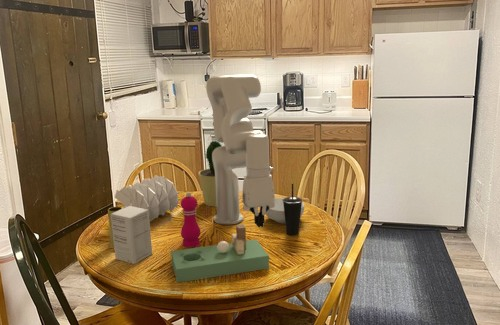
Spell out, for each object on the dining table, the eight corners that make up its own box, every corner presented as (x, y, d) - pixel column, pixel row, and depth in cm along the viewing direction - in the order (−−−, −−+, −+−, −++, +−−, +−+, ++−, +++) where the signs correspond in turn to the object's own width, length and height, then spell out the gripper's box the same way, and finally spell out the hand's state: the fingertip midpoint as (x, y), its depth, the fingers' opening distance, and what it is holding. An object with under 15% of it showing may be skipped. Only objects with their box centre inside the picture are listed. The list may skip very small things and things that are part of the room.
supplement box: (133, 248, 171) (130, 205, 167) (153, 253, 166) (149, 208, 162) (114, 259, 163) (109, 213, 159) (133, 264, 158) (129, 217, 154)
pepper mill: (204, 241, 176) (201, 190, 171) (196, 249, 169) (193, 196, 165) (187, 239, 178) (184, 188, 174) (178, 246, 172) (174, 194, 167)
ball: (216, 251, 156) (215, 239, 155) (227, 249, 157) (227, 238, 157) (218, 256, 153) (218, 244, 152) (230, 254, 154) (230, 242, 153)
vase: (111, 249, 170) (108, 212, 167) (108, 244, 176) (104, 207, 172) (128, 246, 173) (125, 209, 170) (124, 240, 178) (121, 205, 175)
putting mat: (171, 263, 158) (170, 251, 157) (256, 251, 166) (256, 239, 165) (177, 282, 145) (176, 269, 144) (269, 268, 153) (268, 255, 152)
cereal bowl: (310, 224, 190) (310, 207, 189) (271, 229, 186) (271, 212, 184) (295, 211, 206) (294, 195, 204) (259, 215, 202) (258, 200, 200)
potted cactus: (197, 199, 225) (194, 137, 218) (229, 196, 229) (227, 135, 222) (202, 209, 211) (199, 144, 204) (235, 206, 214) (233, 141, 207)
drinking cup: (301, 237, 177) (301, 187, 172) (281, 236, 178) (281, 186, 174) (303, 230, 184) (303, 181, 179) (284, 229, 186) (283, 180, 181)
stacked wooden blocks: (232, 245, 160) (231, 222, 158) (241, 243, 161) (241, 221, 159) (238, 254, 152) (237, 231, 150) (248, 253, 153) (247, 230, 151)
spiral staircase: (176, 219, 210) (137, 236, 189) (149, 198, 217) (108, 212, 195) (190, 186, 203) (151, 199, 182) (161, 165, 210) (120, 176, 188)
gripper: (276, 167, 157) (277, 219, 161) (232, 171, 154) (235, 224, 157) (283, 172, 150) (284, 226, 154) (238, 177, 146) (240, 232, 150)
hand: (259, 225), depth 156 cm, fingers closed
